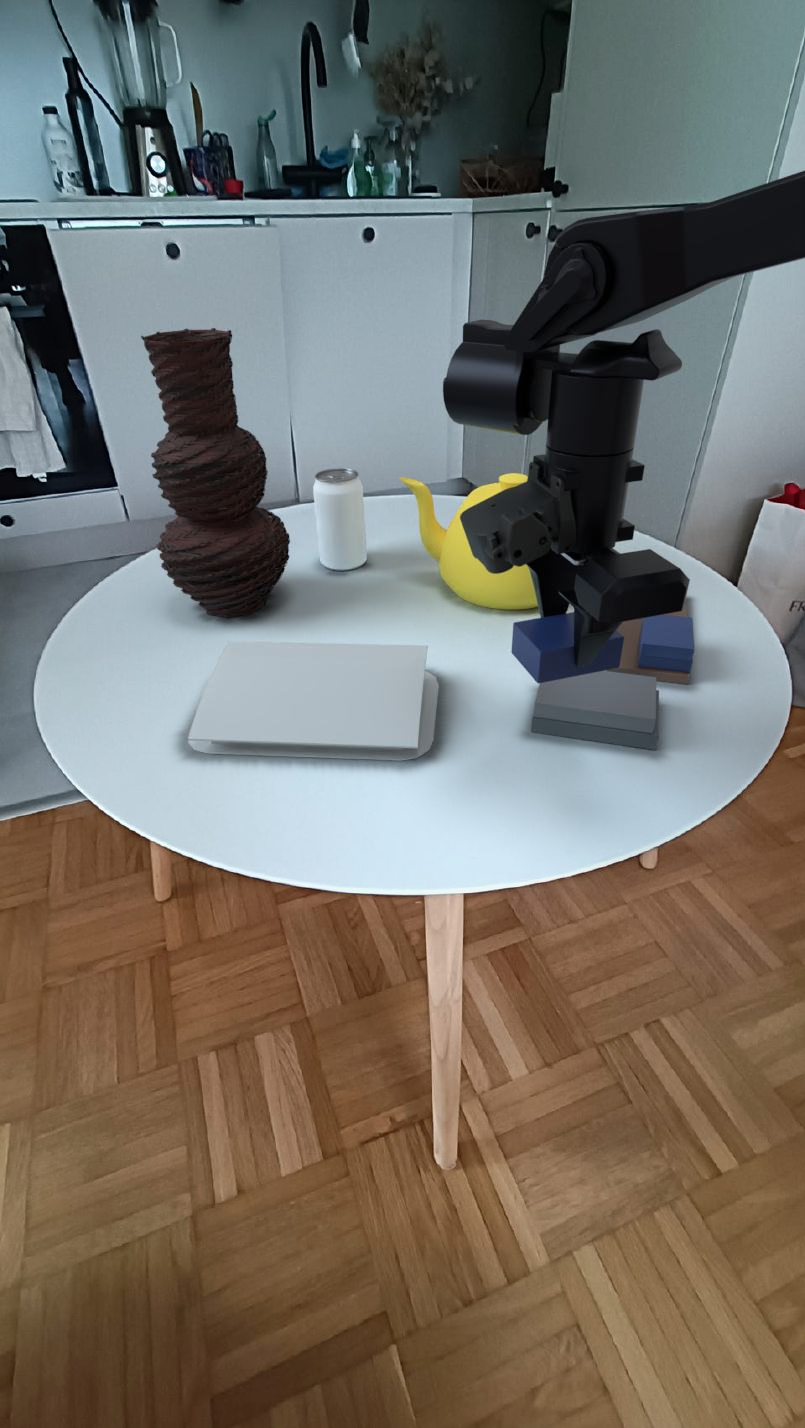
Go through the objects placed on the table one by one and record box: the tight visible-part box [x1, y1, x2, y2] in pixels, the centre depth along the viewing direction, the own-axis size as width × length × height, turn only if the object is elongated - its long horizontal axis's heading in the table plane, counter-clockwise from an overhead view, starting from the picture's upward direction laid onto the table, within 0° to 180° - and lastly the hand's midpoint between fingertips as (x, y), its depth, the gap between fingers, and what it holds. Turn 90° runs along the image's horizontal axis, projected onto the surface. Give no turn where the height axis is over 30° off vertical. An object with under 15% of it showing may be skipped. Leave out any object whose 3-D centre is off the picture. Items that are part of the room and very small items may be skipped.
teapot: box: [399, 472, 538, 611], centre depth 88 cm, size 25×18×14 cm
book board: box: [605, 599, 691, 685], centre depth 80 cm, size 8×20×1 cm, turn 163°
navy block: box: [510, 611, 624, 684], centre depth 56 cm, size 7×5×3 cm
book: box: [187, 640, 440, 762], centre depth 69 cm, size 15×23×4 cm, turn 85°
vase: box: [140, 327, 291, 619], centre depth 81 cm, size 15×15×30 cm
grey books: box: [530, 670, 660, 751], centre depth 67 cm, size 11×8×3 cm
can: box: [312, 467, 368, 572], centre depth 96 cm, size 6×6×12 cm
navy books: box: [638, 615, 695, 674], centre depth 74 cm, size 7×5×3 cm
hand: (565, 648), depth 57 cm, fingers closed on navy block, 5 cm apart
